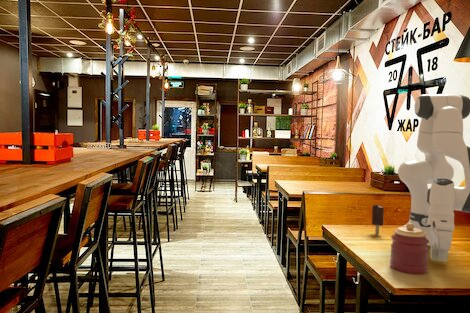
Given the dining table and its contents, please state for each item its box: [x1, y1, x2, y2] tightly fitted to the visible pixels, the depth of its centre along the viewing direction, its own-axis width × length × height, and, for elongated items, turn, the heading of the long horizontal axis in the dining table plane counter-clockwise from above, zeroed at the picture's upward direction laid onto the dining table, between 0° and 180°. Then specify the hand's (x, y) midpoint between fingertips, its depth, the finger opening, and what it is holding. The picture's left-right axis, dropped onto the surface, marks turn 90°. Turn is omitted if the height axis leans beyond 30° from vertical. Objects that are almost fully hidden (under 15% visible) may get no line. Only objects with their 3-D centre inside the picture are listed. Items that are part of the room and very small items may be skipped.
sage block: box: [429, 246, 449, 263], centre depth 152 cm, size 4×6×4 cm
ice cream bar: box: [371, 204, 385, 235], centre depth 196 cm, size 5×2×15 cm, turn 62°
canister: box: [389, 222, 429, 275], centre depth 145 cm, size 13×13×18 cm
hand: (438, 255), depth 152 cm, fingers closed on sage block, 4 cm apart
